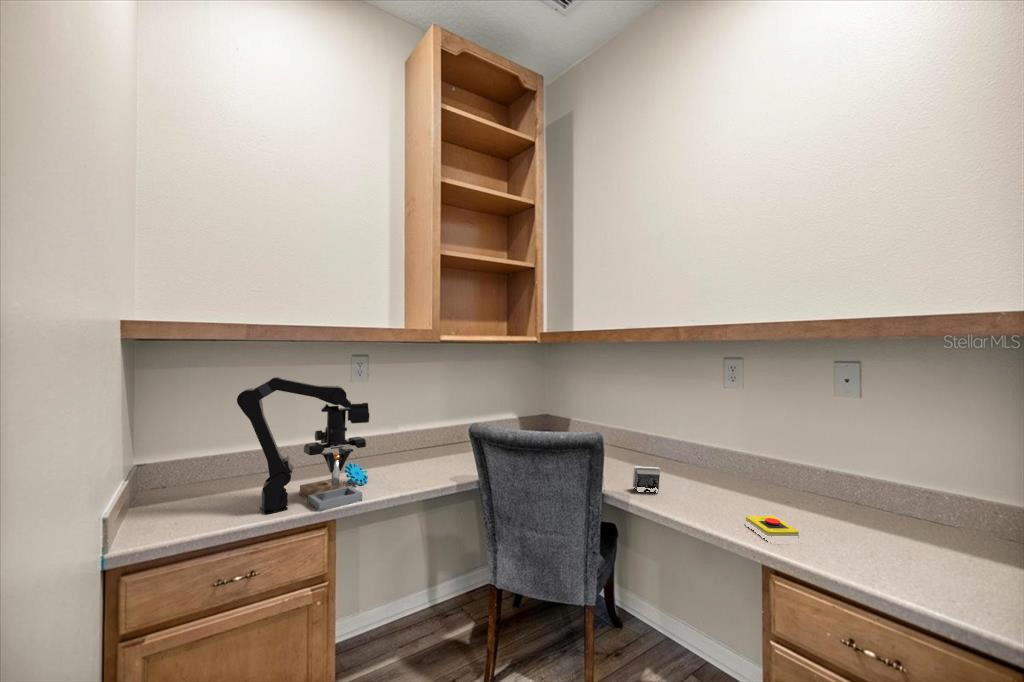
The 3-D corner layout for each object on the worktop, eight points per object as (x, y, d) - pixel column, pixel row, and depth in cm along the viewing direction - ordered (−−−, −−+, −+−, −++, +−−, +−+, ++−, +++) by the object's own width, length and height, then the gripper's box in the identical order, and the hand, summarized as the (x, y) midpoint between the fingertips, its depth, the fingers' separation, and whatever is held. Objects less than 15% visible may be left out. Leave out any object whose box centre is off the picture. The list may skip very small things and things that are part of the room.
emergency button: (770, 529, 118) (740, 509, 133) (770, 546, 118) (740, 523, 133) (804, 529, 118) (770, 509, 133) (804, 546, 118) (770, 523, 133)
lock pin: (332, 487, 144) (332, 456, 144) (328, 484, 146) (328, 454, 146) (342, 485, 146) (342, 455, 146) (338, 482, 149) (338, 453, 149)
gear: (355, 485, 158) (342, 462, 162) (345, 495, 159) (332, 473, 163) (375, 480, 168) (363, 459, 172) (365, 490, 170) (353, 469, 173)
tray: (319, 511, 138) (319, 503, 138) (308, 502, 145) (308, 495, 145) (362, 500, 147) (362, 493, 147) (349, 493, 155) (349, 486, 155)
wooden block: (307, 499, 148) (308, 490, 148) (299, 493, 153) (299, 485, 154) (343, 491, 156) (343, 483, 156) (334, 486, 162) (334, 478, 162)
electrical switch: (658, 490, 161) (659, 465, 161) (661, 496, 156) (662, 470, 156) (632, 488, 163) (632, 464, 162) (634, 495, 158) (635, 469, 157)
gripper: (353, 418, 159) (352, 461, 158) (298, 424, 146) (297, 471, 146) (367, 422, 151) (366, 468, 150) (310, 429, 138) (309, 479, 137)
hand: (335, 471), depth 146 cm, fingers closed on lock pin, 3 cm apart
